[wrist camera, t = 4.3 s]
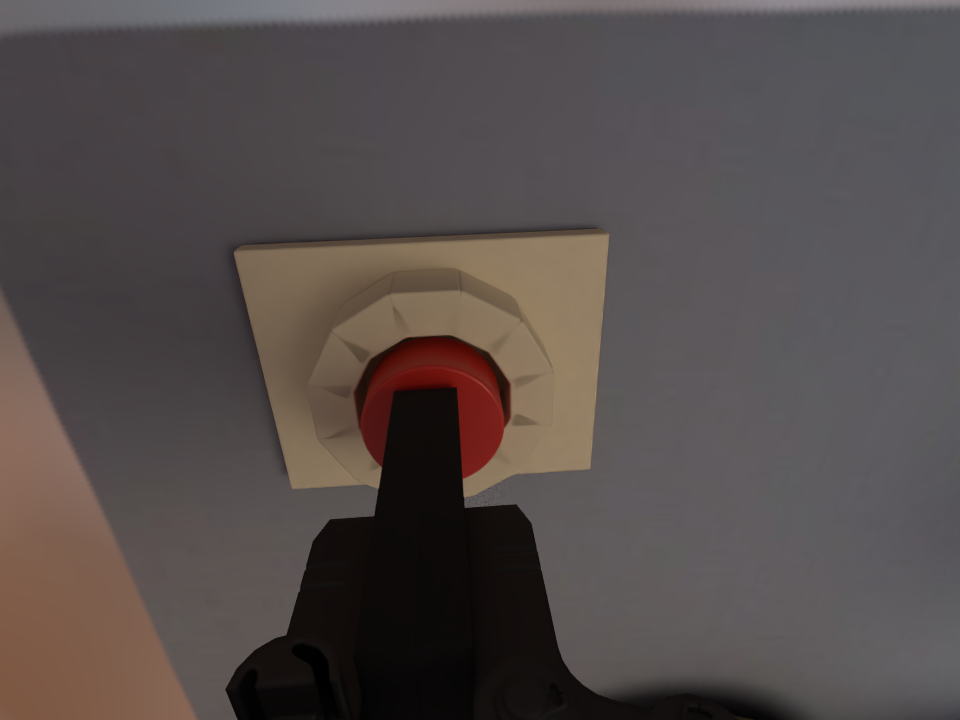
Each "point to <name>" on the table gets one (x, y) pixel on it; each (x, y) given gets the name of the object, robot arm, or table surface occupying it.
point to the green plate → (742, 719)
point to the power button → (430, 369)
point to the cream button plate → (429, 313)
